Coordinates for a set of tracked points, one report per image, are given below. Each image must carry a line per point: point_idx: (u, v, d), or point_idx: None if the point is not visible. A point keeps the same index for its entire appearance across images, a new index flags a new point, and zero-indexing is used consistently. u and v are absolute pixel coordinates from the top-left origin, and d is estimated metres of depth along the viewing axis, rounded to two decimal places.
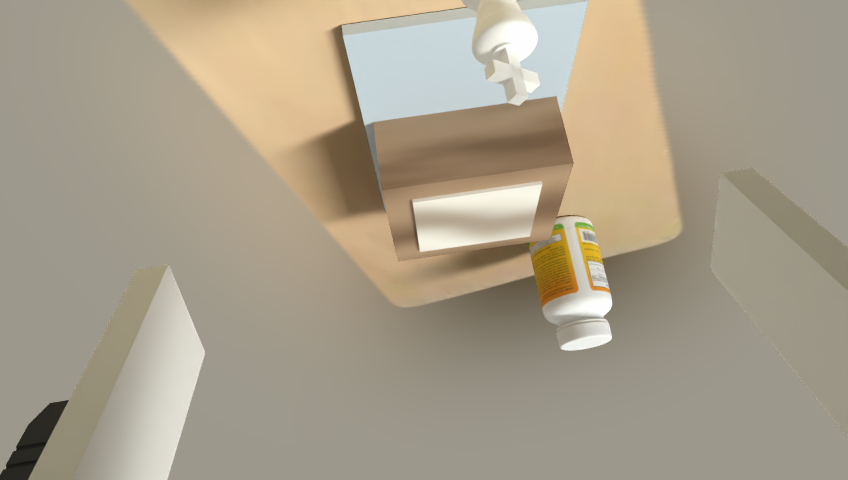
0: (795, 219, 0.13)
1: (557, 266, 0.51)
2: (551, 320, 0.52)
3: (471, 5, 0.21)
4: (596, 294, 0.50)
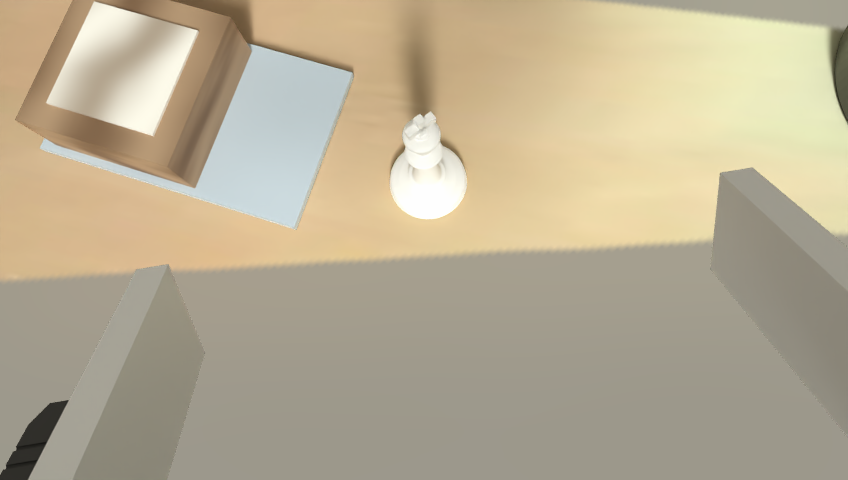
0: (795, 219, 0.13)
1: None
2: None
3: None
4: None
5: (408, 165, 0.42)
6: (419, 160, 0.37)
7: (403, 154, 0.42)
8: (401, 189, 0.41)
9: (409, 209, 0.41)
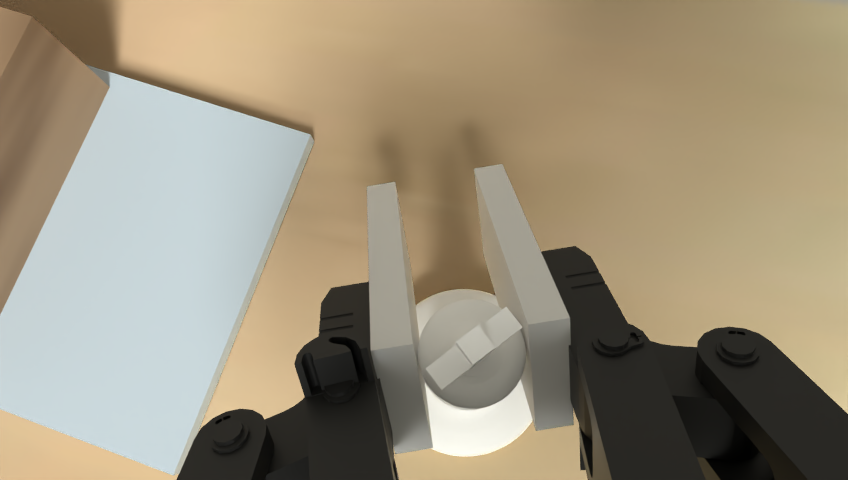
0: (507, 208, 0.15)
1: None
2: None
3: None
4: None
5: None
6: None
7: None
8: None
9: None
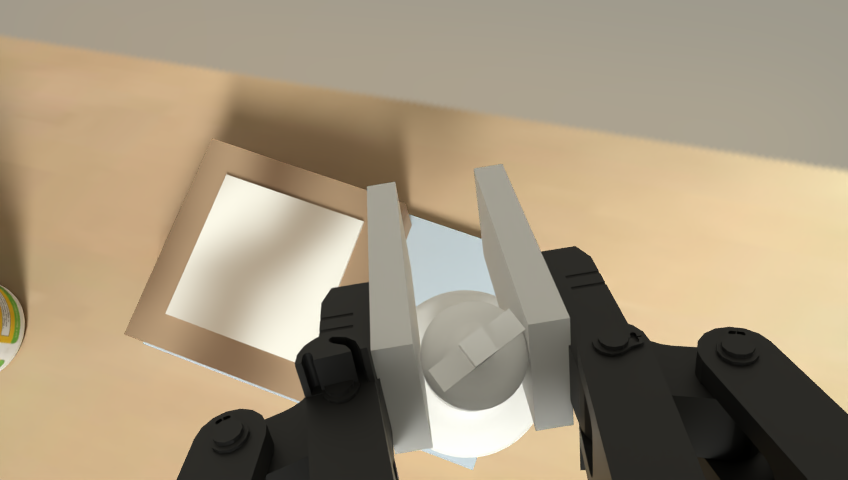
0: (507, 208, 0.15)
1: None
2: None
3: None
4: None
5: None
6: None
7: None
8: None
9: None
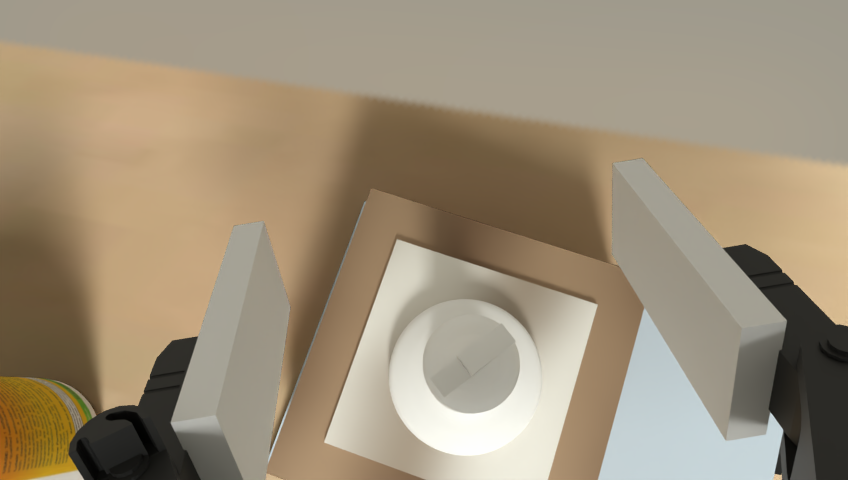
0: (667, 204, 0.14)
1: (44, 442, 0.23)
2: None
3: None
4: None
5: None
6: None
7: (417, 323, 0.21)
8: (411, 399, 0.20)
9: (428, 441, 0.20)
